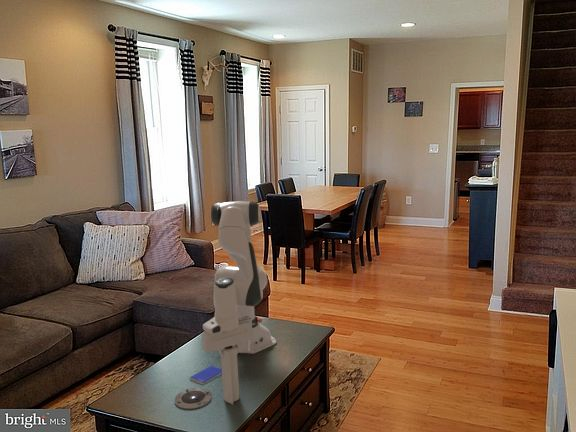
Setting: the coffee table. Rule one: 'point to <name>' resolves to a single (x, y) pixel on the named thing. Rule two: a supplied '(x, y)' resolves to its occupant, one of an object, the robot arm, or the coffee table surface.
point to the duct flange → (193, 398)
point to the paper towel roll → (230, 374)
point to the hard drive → (206, 375)
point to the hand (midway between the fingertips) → (229, 356)
